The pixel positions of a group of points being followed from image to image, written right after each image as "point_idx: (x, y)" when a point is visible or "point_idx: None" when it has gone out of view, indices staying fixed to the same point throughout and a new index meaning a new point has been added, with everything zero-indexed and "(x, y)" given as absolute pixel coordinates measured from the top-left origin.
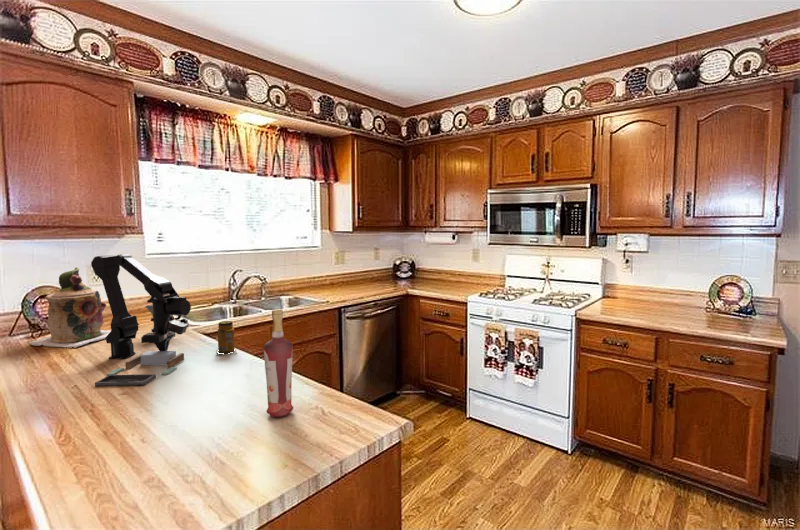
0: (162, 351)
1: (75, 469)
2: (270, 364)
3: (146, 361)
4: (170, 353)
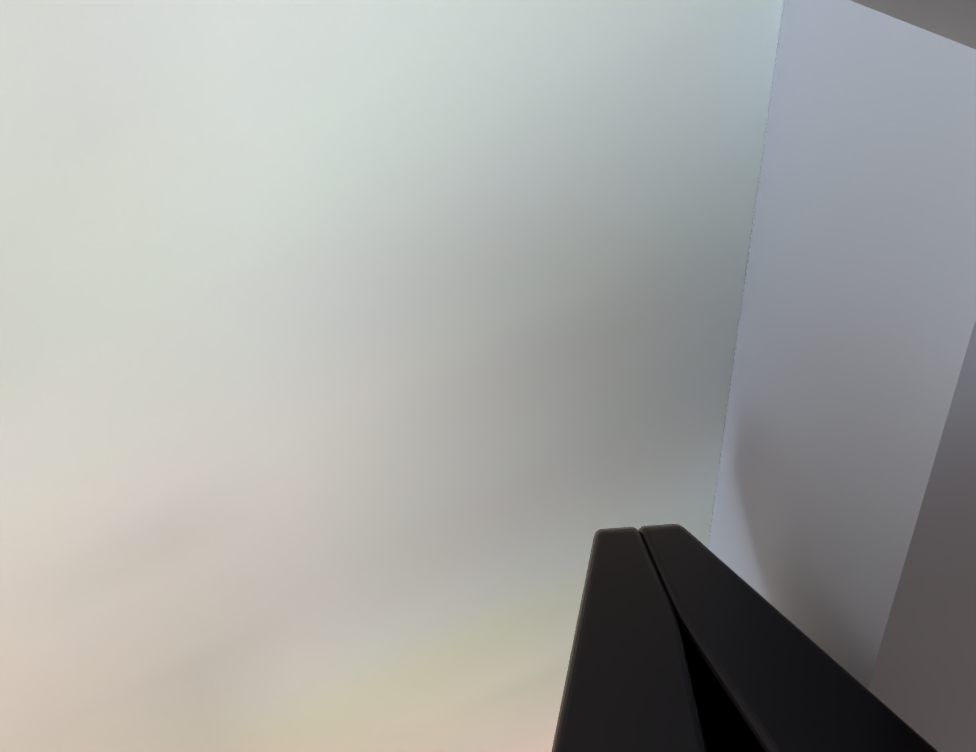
0: (951, 679)
1: None
2: None
3: None
4: None
